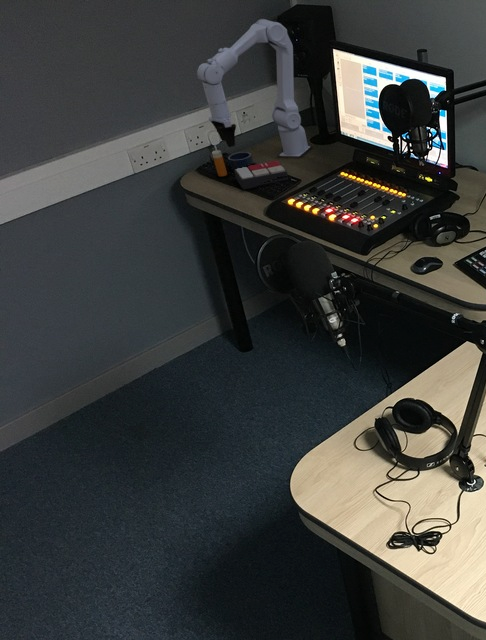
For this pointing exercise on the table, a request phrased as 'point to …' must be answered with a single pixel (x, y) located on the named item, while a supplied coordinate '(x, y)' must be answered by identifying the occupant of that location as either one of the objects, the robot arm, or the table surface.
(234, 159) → the dark blue round bowl
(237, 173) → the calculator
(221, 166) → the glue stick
